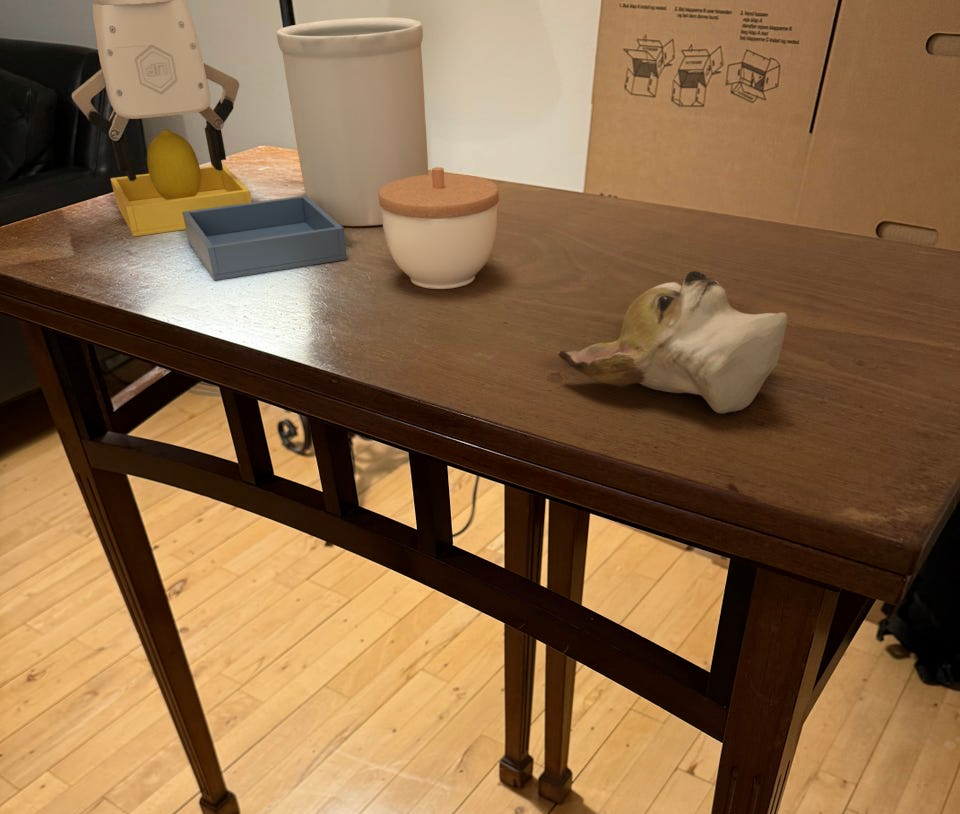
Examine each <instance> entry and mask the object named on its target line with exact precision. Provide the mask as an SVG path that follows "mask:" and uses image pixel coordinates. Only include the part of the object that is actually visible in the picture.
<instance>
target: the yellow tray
mask: <svg viewBox="0 0 960 814" xmlns="http://www.w3.org/2000/svg"><path fill="white" fill-rule="evenodd" d="M222 166H223V170H220V171H218V170H216V169H215V168H214V167H213V166H212V165H210V166H209V165H208V166H201V167H200V166H199V167H200V173H201V184H200V188H199V191H198V193H197V194H196V196H194V197H186V198H179V199H171V200H166V199H164V198H163V197H162V196H161V195H160V194H159V193H158V192H157V190H156V189H155V187H154V185H153V183H152V181H151V178H150V175H149V173H145V174H144V173H143V174H136V179H135V181H130V180H129V178H128V177H127V175H126V176H118V177H111V178H110V182H111V187H112V190H113V194H114V195H113V196H114V198H115V202H116V206H117V208H118V210H119V212H120V214H121V216H122V218H123V219H124V222H125V223H126V225H127V227H128V229H129V231H130V233H131V235H132V237H139V236H148V235H154V234H162V233H169V232H170V233H171V232H176V231H183V230H186V227H185V223H184V218H183V213H182V212H186V211H193V210H201V209H208V208H216V207H223V206H230V205H238V204H245V203H253V202H252V196H251V191H250V189H249V188H248V187H247V186H246V185H245V184H244V183H243V182H242V181H241V180H240V179H239V178H238V177H237V176H236V175H235V174H234V173H233V172H232V171H231V170H230V169H229V168H228V167H227V166H226V164H222Z"/></svg>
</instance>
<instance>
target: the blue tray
mask: <svg viewBox="0 0 960 814" xmlns="http://www.w3.org/2000/svg"><path fill="white" fill-rule="evenodd" d="M182 213H183V218H184V223H185V227H186V229H185V231H186V236H187V240H188V243H189V245H190V246H191V248H192V249H193V251H194V253H196V255H197V257H198V258H199V260H200V261H201V262H202V264H203V266H204V267H205V268H206V271H208V273H209V274H210V276H211V278H212V279H213V280H214V281H219V280H227V279H232V278H239V277H244V276H245V277H246V276H251V275H258V274H264V273H270V272H276V271H282V270H289V269H295V268H302V267H308V266H314V264H315V265H320V264H326V263H327V264H328V263H333V262H340V261H345V260H348V256H347V248H346V239H345V237H346V236H345V229H344V226H341V225H340V224H339V223H337V222H336V221H335V220H334V219H333V218H332V217H331V216H329V215H328V214H327V213H326V212H325V211H324V210H322V209H321V208H320V207H319V206H318V205H317V204H316V203H314V202H313V201H312V200H311V199H310V198H309V197H308V196H306V194H305V195H298V196H289V197H282V198H275V199H269V200H262V201H261V200H260V201H253V202H252V203H245V204H238V205H230V206H223V207H216V208H208V209H201V210H193V211H186V212H182Z"/></svg>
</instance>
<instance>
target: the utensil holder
mask: <svg viewBox="0 0 960 814" xmlns="http://www.w3.org/2000/svg"><path fill="white" fill-rule="evenodd" d="M276 38H277V44H278V47H279V49H280V51H281V52H282V58H283V66H284V72H285V79H286V85H287V92H288V98H289V104H290V111H291V117H292V122H293V130H294V135H295V143H296V149H297V154H298V160H299V161H298V162H299V166H300V171H301V177H302V182H303V187H304V194H305V195H306V196H308V197H309V198H310V199H311V200H312V201H313V202H314V203H316V204H317V205H318V206H319V207H320V208H321V209H322V210H324V211H325V212H326V213H327V214H328V215H329V216H331V217H332V218H333V219H334V220H335V221H336V222H337V223H339V224H340V225H341V226H342V227H371V226H381V225H382V226H383V223H382V214H381V206H380V203H379V194H378V193H379V191H380V189H381V188H382V187H383V186H385V185H386V184H388V183H390V182H393V181H396V180H399V179H403V178H407V177H412V176H420V175H429V158H428V140H427V126H426V125H427V124H426V108H425V107H426V105H425V103H426V102H425V87H424V86H425V84H424V73H423V72H424V71H423V70H424V69H423V57H422V54H423V53H422V42H423V39H424V30H423V23H422V22H421V21H420V20H417V19H412V18H407V17H406V18H405V17H389V16H388V17H354V18H353V17H352V18H351V17H350V18H349V17H348V18H337V19H327V20H319V21H311V22H305V23H299V24H294V25H289V26H285V27H281V28H279V29H278V30H277V31H276Z"/></svg>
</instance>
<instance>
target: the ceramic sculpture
mask: <svg viewBox="0 0 960 814" xmlns="http://www.w3.org/2000/svg"><path fill="white" fill-rule="evenodd" d="M788 322H789V319H788V315H787V313H786V312H778V313H775V312H766V313H756V314H751V313H745V312H741V311H739V310H737V309H735V308H733V307H732V306H731V305H730V303H729V300H728V297H727V292H726V290H725V289H724V287H722V286H721V284H720V283H719V282H718V281H717V280H716V279H715V278H711V277H710V276H707V274H705V273H703V272H700V271H695V270H694V271H693V270H691V271H690V272H688V274H687V275H686V276H685V279H684V281H683V282H682V284H681V283H680V282H679V283H678V282H676V281H671V282H665V283H662V284H659V285H656V286H654V287H652V288H649V289H647V290H645V291H644V292H643V293H641V294H640V295H639V296H637V297H636V298H635V299H634V300H633V301H632V302H631V303H630V305H629V306H628V307H627V309H626V311H625V314H624V316H623V319H622V325H621V330H620V335H619V337H618V339H616V340H614V341H610V342H599V343H594V344H591V345H589V346H586V347H585V348H582V349H580V350H560V351H557V355H558V357H559V358H560V359H561V360H562V361H563V362H565V363H566V364H567V365H569V366H570V367H571V368H573V369H574V370H576V371H577V372H579V373H581V374H582V375H584V376H586V377H588V378H591V379H592V380H594V381H596V382H598V383H602V384H606V385H617V386H618V385H634V384H640V386H643V387H646V388H649V389H651V390H655V391H660V392H665V393H666V392H667V393H673V394H685V393H686V394H692V395H699V396H701V397H702V398H703V399H704V400H705V401H706V403H707V404H708V405H709V407H710V408H711V409H712V411H714V412H715V413H717V414H723V415H724V414H726V413H732V412H733V413H735V412H738V411H742V410H744V409H745V408H747V407H748V406H750V404H752V402H753V401H754V399H755V398H756V396H757V395H758V394H759V391H760V390H761V388H762V386H763V385H764V382H765V381H766V379H767V378H768V377H769V376H770V374H771V373H772V372H773V370H774V369H775V368H776V367H777V365H778V361H779V357H780V354H781V351H782V347H783V343H784V338H785V334H786V330H787V329H786V328H787V325H788Z"/></svg>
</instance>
